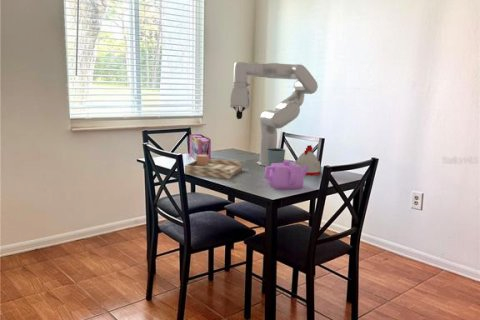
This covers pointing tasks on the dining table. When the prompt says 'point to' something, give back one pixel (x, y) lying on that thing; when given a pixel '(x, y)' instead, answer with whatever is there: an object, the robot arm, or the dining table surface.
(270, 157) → the gray plant pot
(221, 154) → the dining table surface
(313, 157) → the kitchen timer
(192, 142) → the gum box
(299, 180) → the teakettle
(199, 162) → the block
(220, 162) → the wooden tray
